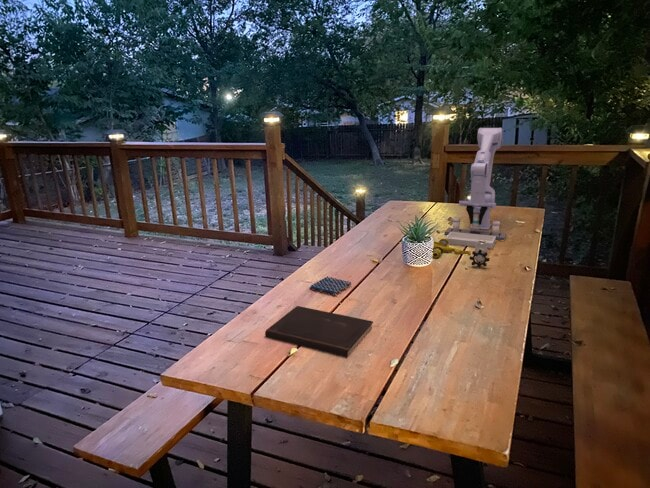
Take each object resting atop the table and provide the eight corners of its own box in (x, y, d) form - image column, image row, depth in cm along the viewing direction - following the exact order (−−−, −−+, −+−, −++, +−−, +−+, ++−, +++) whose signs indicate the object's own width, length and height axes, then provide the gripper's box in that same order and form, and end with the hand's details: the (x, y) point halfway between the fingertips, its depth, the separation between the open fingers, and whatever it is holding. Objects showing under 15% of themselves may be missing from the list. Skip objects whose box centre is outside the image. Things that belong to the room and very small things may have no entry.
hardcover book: (297, 313, 129) (297, 305, 128) (373, 329, 118) (373, 321, 118) (265, 338, 115) (264, 330, 114) (347, 359, 105) (347, 350, 104)
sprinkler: (414, 244, 169) (424, 233, 182) (412, 254, 171) (423, 242, 183) (467, 257, 162) (474, 244, 174) (464, 267, 163) (472, 254, 176)
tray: (450, 237, 191) (450, 231, 191) (495, 242, 183) (495, 236, 183) (445, 244, 183) (445, 238, 182) (492, 249, 175) (492, 243, 174)
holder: (448, 230, 201) (448, 227, 200) (505, 236, 190) (506, 233, 190) (444, 235, 195) (444, 231, 194) (503, 241, 184) (504, 237, 184)
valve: (471, 256, 168) (468, 267, 158) (472, 239, 166) (469, 249, 156) (490, 258, 166) (488, 269, 156) (491, 240, 164) (490, 251, 154)
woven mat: (353, 287, 145) (353, 281, 145) (335, 298, 137) (335, 292, 136) (326, 280, 151) (326, 275, 150) (307, 291, 142) (307, 285, 142)
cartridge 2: (491, 236, 191) (492, 220, 189) (499, 237, 190) (500, 221, 187) (490, 238, 188) (491, 222, 186) (498, 239, 187) (499, 222, 185)
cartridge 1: (452, 232, 198) (453, 217, 196) (459, 233, 197) (460, 217, 194) (451, 234, 195) (452, 218, 193) (458, 235, 194) (459, 219, 192)
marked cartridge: (472, 228, 194) (473, 212, 191) (479, 228, 192) (480, 212, 190) (471, 229, 191) (472, 213, 189) (478, 230, 190) (479, 214, 188)
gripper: (458, 192, 187) (456, 224, 191) (495, 194, 180) (492, 227, 184) (461, 189, 192) (459, 220, 197) (497, 191, 186) (494, 223, 190)
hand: (475, 223), depth 191 cm, fingers closed on marked cartridge, 3 cm apart
